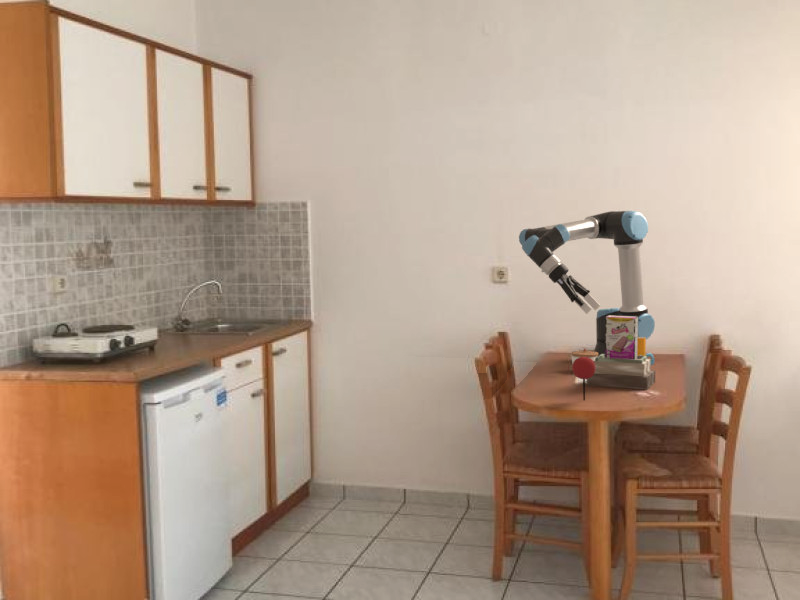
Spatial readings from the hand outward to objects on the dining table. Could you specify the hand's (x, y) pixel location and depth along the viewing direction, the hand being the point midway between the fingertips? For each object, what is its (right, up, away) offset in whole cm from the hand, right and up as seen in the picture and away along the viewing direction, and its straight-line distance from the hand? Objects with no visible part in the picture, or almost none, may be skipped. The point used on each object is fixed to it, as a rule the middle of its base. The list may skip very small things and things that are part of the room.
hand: (593, 309), depth 345 cm
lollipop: (-10, -31, -31) cm, 45 cm away
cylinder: (+21, -26, +15) cm, 37 cm away
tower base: (+10, -28, -2) cm, 29 cm away
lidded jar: (+2, -26, +26) cm, 37 cm away
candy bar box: (+10, -19, -3) cm, 22 cm away
